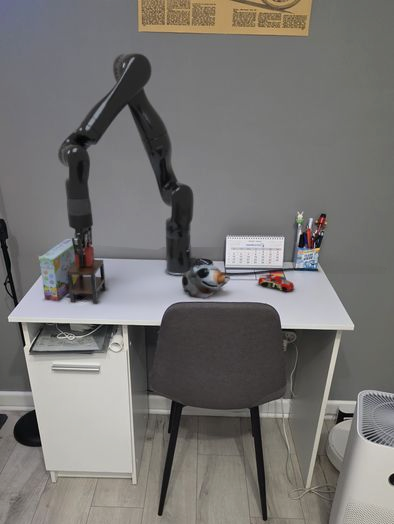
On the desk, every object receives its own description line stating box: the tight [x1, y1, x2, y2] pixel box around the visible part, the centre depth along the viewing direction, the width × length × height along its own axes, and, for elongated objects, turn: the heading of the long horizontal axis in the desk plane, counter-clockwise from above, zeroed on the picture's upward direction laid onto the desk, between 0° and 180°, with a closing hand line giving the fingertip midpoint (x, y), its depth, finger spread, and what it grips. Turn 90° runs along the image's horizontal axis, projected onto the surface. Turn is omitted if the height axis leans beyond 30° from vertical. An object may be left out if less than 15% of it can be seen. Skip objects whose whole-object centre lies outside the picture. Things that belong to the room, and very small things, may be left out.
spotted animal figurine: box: [181, 263, 231, 299], centre depth 169 cm, size 15×12×14 cm
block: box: [74, 246, 96, 266], centre depth 162 cm, size 5×5×5 cm
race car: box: [257, 274, 295, 293], centre depth 177 cm, size 13×5×4 cm, turn 57°
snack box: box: [39, 238, 79, 302], centre depth 171 cm, size 21×6×15 cm, turn 168°
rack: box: [67, 259, 107, 304], centre depth 167 cm, size 9×12×11 cm
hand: (85, 262), depth 163 cm, fingers closed on block, 5 cm apart
